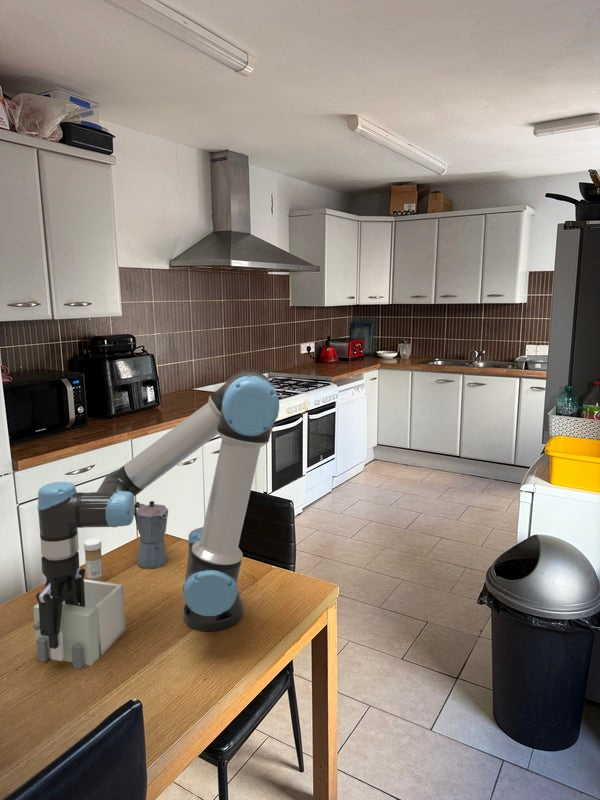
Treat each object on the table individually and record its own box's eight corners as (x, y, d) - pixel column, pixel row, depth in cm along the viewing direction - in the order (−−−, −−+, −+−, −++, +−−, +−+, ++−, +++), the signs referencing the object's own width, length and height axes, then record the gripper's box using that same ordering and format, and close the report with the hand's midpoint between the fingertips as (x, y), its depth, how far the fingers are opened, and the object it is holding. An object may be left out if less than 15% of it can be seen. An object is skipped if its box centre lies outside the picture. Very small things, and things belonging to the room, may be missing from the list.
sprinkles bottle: (104, 581, 159) (102, 536, 157) (102, 589, 155) (100, 543, 153) (87, 582, 158) (85, 538, 156) (85, 590, 154) (82, 545, 152)
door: (99, 657, 125) (96, 608, 123) (88, 669, 121) (84, 619, 119) (46, 647, 129) (42, 600, 127) (33, 659, 125) (29, 609, 123)
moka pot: (157, 575, 163) (154, 510, 160) (121, 562, 171) (118, 500, 168) (180, 562, 171) (178, 500, 167) (145, 550, 179) (142, 491, 176)
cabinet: (125, 630, 136) (123, 584, 134) (86, 670, 121) (83, 619, 119) (75, 622, 139) (72, 577, 137) (32, 659, 124) (27, 610, 122)
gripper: (71, 536, 130) (76, 628, 134) (15, 569, 113) (22, 673, 117) (99, 539, 129) (103, 632, 132) (47, 573, 112) (53, 679, 115)
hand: (65, 651), depth 125 cm, fingers open, 5 cm apart
